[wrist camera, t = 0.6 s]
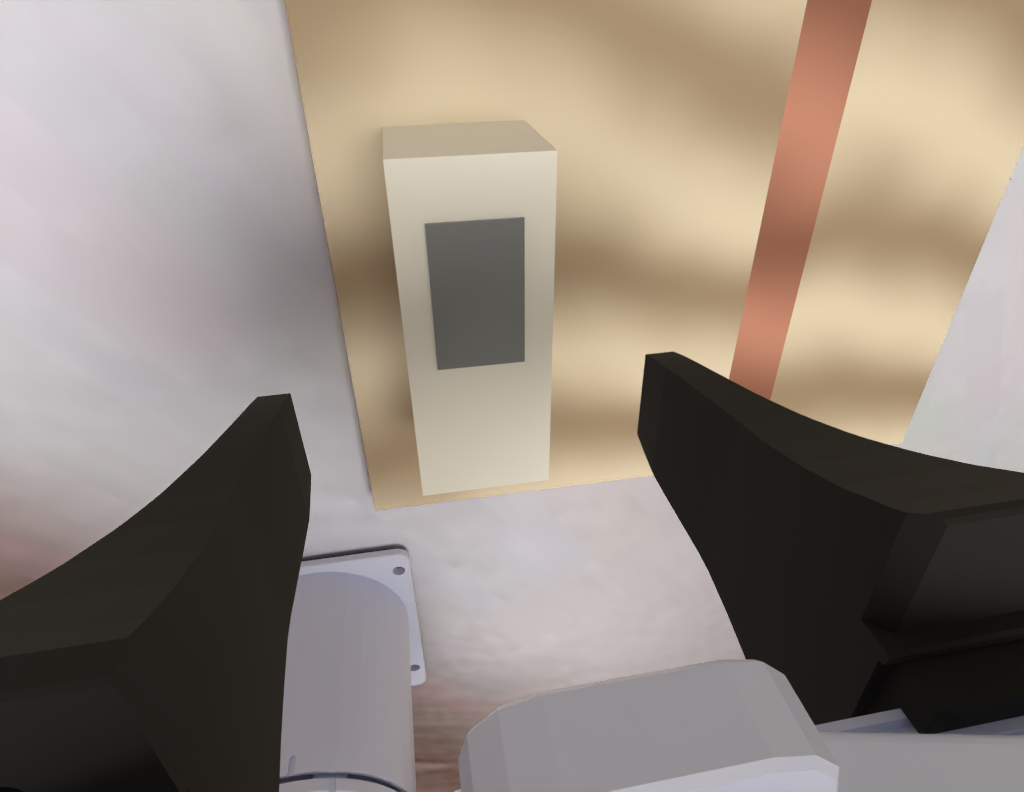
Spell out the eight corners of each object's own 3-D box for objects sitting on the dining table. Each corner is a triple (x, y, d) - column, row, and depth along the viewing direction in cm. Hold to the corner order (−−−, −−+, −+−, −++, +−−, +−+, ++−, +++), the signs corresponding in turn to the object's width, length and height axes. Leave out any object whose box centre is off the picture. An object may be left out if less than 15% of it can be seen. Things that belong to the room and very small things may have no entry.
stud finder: (524, 410, 23) (549, 481, 20) (416, 422, 23) (422, 498, 19) (524, 120, 18) (558, 151, 15) (382, 126, 17) (382, 160, 14)
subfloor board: (886, 430, 29) (901, 443, 28) (375, 493, 26) (375, 510, 25) (1074, -54, 19) (1105, -56, 18) (280, -49, 16) (275, -51, 15)
